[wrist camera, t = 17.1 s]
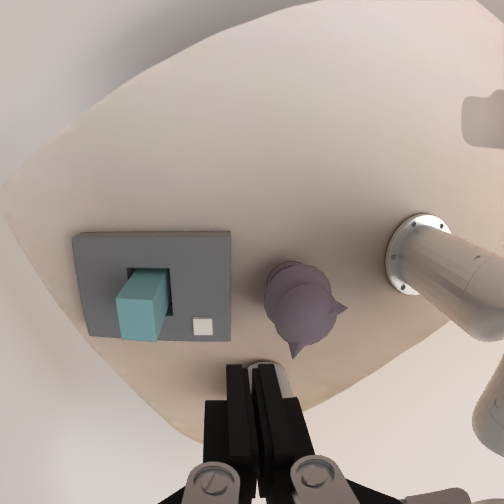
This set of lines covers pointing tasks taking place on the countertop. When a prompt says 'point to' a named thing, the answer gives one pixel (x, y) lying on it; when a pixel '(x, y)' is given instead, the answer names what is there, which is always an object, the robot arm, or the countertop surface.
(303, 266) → the cat figurine
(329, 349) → the countertop surface
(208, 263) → the socket
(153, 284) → the plug
